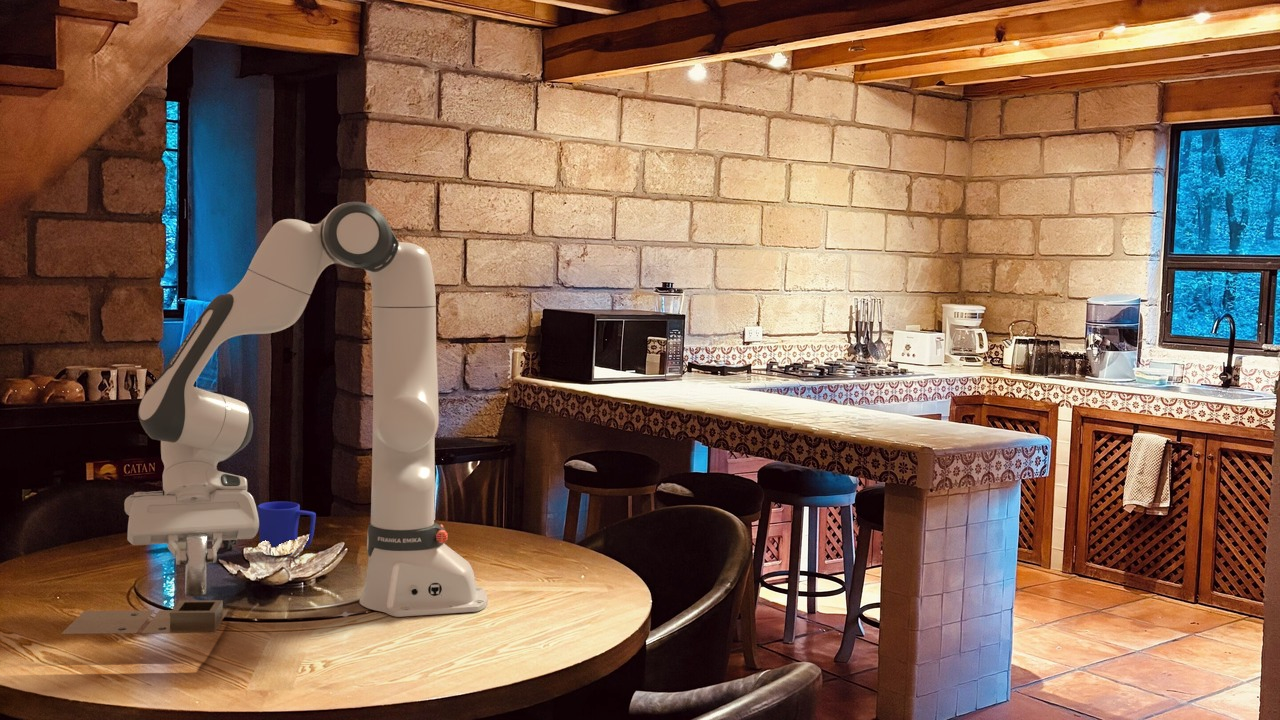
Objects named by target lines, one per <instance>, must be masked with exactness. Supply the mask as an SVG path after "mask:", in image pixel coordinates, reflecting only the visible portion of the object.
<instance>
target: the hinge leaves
mask: <svg viewBox="0 0 1280 720" xmlns="http://www.w3.org/2000/svg"><path fill="white" fill-rule="evenodd" d="M223 603H224V602H223V600H222V599H219V600H218V599H216V600H213V599H211V600H210V599H209V600H208V599H207V600H206V599H205V600H202V599H201V600H199V599H198V600H191V599H190V600H178V602H177V603H176V605H175V606H174V607H173V608H172V609H170V610H169V609H168V610H167V609H166V610H164V609H163V610H161V609H160V610H158V612H157V613H156V614H155V615H154V617H153V618H152V620H150V621H149V623H148V624H147V625H146V627H144V629H143V630H142V631H141V634H187V633H188V634H205V633H208V634H209V633H211V634H212V633H216V632H217V629H218V628H219V627H220V625H221V623H222V622H223V620H224V618H225V617H226V615H227V614H228V612H229V609H224V608H223V607H224V606H223ZM154 612H155V610H153V609H152V610H145V609H144V610H143V609H142V610H84V611H82V613H80V614H79V615H78V616H77V618H75V620H73V622H71V623H70V625H68V626H67V627H66V628H65V629H64V630H63V631H62V632H61V633H60V635H95V634H96V635H104V634H105V635H107V634H108V635H110V634H111V635H112V634H114V635H115V634H120V635H121V634H124V635H125V634H137V633H138V632H139V630H140V629H141V628H142V626H144V624H145V623H146V622H147V621H148V619H149V618H150V617H151V616H152V615H153V614H154Z"/></svg>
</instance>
